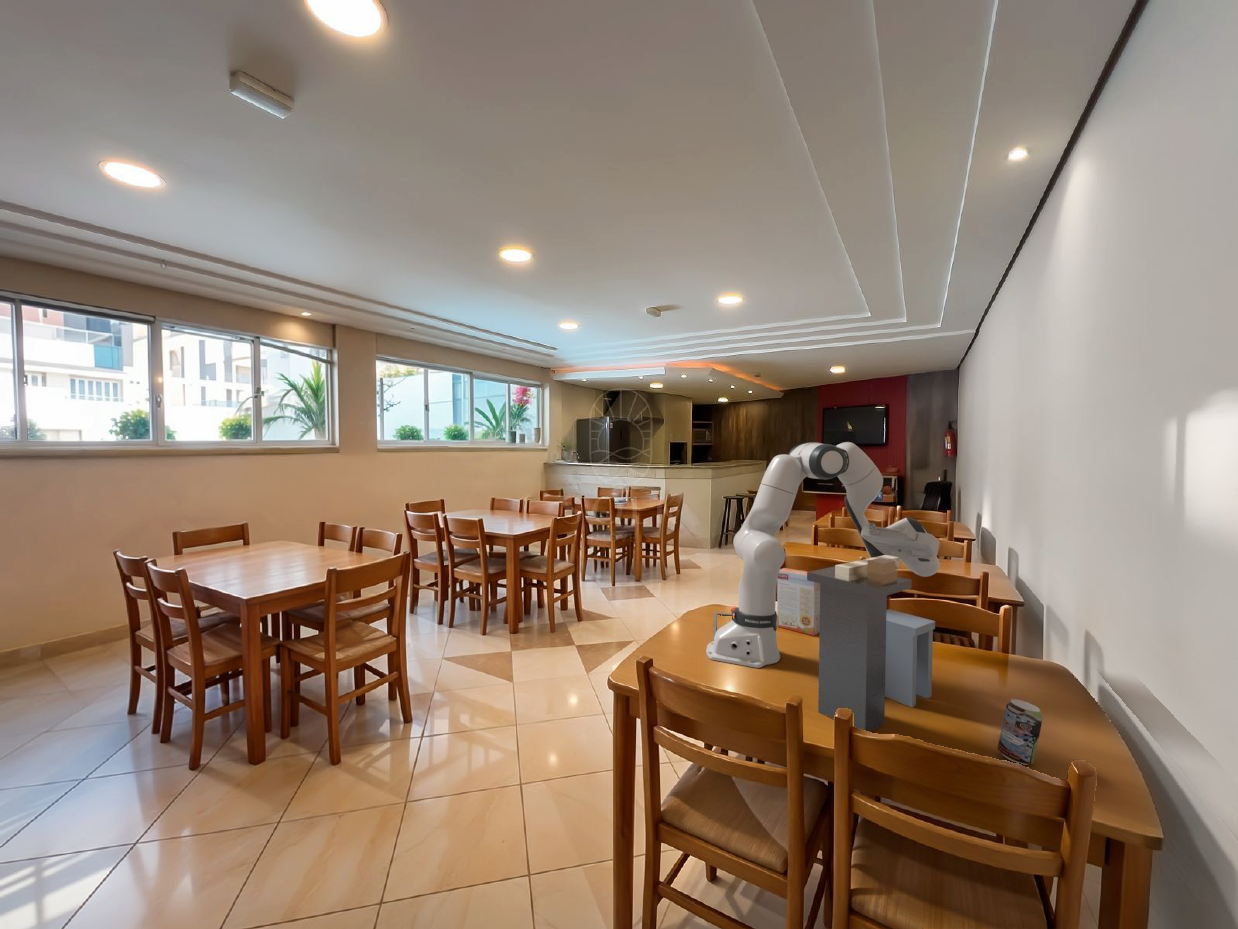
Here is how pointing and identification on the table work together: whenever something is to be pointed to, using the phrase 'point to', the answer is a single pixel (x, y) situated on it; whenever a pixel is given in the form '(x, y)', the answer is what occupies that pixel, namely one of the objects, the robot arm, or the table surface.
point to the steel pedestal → (855, 641)
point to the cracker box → (798, 602)
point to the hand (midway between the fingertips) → (885, 527)
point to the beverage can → (1020, 731)
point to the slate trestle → (908, 657)
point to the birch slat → (859, 568)
